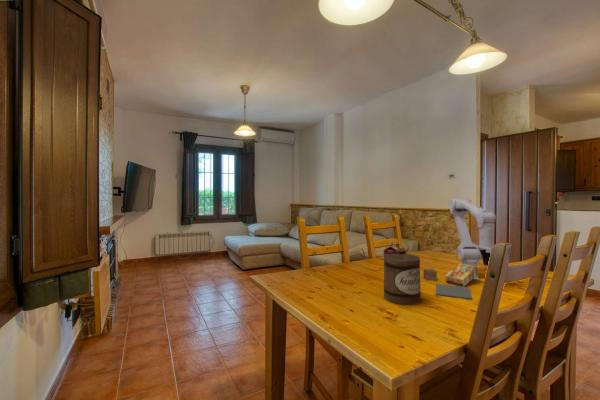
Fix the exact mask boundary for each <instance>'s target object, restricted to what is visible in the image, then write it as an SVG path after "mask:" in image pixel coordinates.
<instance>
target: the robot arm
mask: <svg viewBox="0 0 600 400" xmlns="http://www.w3.org/2000/svg"><path fill="white" fill-rule="evenodd" d="M448 208H449V211H450V214H451V215H452V216H453V218H454V222H455V225H456V230H457V233H458V236H459V241H460V244H459V245H458V247H457V248H456V249H457V257H458V259H459V260H460V261H461V264H466V265H471V266H477V267H478V263H479V262H480V260H481V259H482V262H483V266H489V265H488V261H489V257H490V252H491V249H492V246H494V224H495V223H497V216H496V214H495V212H493V211H487V210H485V209H484V208H483V207H481V206H480V205H474V204H473V203H472V200H471V199H469V198H451V199H450V200H449V204H448ZM468 213H469V214H470V215H471V216H472V217H473V218H475V220H476V223H477V228H478V242H479V243H478V245H477V244H475V243H474V242H472V238H471V236H470V235H471V234H470V231H469V228H468V225H467V222H466V218H465V216H466V215H468ZM479 248H480V249H479ZM492 250H493V249H492ZM472 280H477V281H479V280H480V278H479V275H478V274H477V275H476V276H475V277H474V278H473V279H472Z"/></svg>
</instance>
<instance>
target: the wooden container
mask: <svg viewBox="0 0 600 400" xmlns="http://www.w3.org/2000/svg"><path fill="white" fill-rule="evenodd" d="M398 248H399V249H397V251H398V253H397V254H387V255H385V256H384V255H383V297H384V299H385V300H386V301H388V302H390V303H393V304H397V305H407V306H408V305H409V306H410V305H411V306H412V305H415V304H419V303H420V302H421V289H422V288H421V258H420V257H419V256H416V255H413V254H408V253H406V249H405V248H404V247H398Z"/></svg>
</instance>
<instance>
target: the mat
mask: <svg viewBox="0 0 600 400" xmlns="http://www.w3.org/2000/svg"><path fill="white" fill-rule="evenodd" d="M435 296H440V297H448V298H455V299H462V300H463V299H464V300H471V301H473V296H472V293H471V289H470V287H468V286H464V287H462V286H458V285H453V284H451V285H450V284H441V283H436V284H435Z"/></svg>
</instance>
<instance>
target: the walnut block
mask: <svg viewBox="0 0 600 400" xmlns="http://www.w3.org/2000/svg"><path fill="white" fill-rule="evenodd" d="M437 273H438V272H437V270H436V269H434V268H423V279H424V280H425V281H431V282H433V281H435V282H437V280H438V277H437V276H438V274H437Z"/></svg>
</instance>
